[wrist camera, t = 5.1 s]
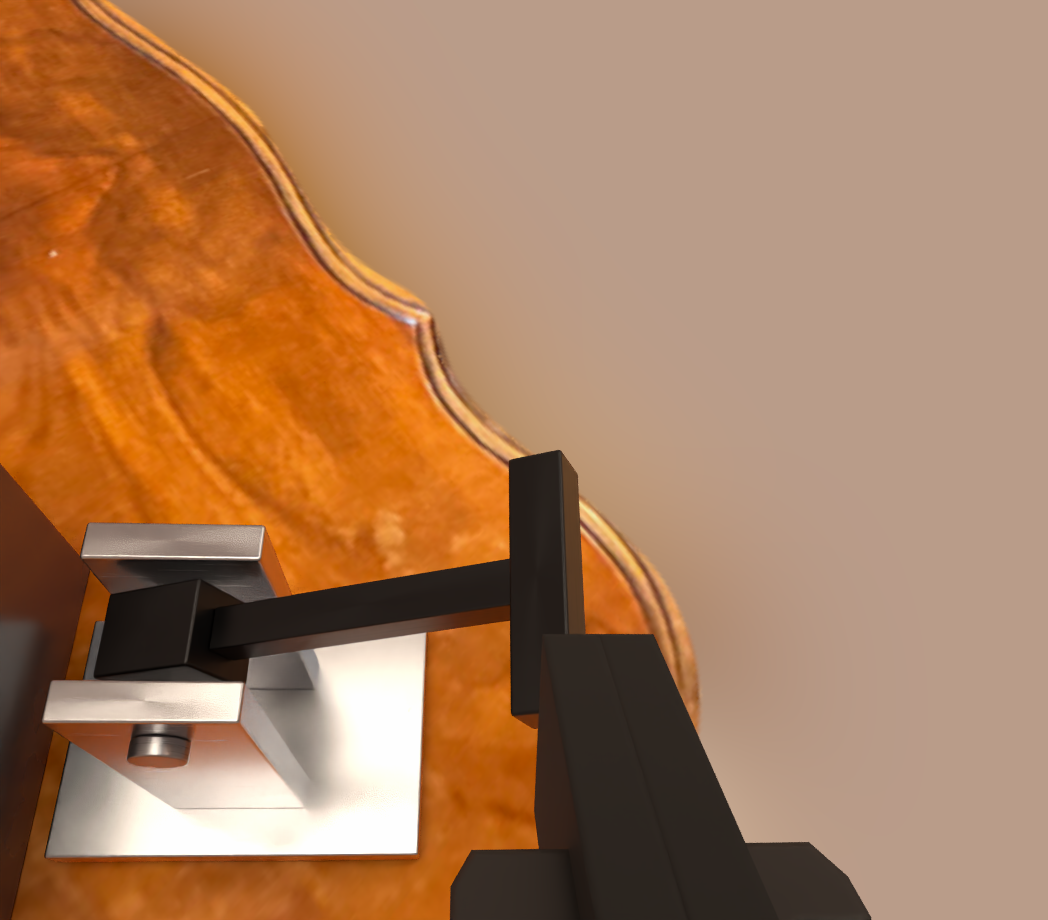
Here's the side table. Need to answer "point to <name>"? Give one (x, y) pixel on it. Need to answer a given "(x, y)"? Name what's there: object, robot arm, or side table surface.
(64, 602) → the toaster
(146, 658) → the lever
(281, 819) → the lever bracket
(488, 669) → the side table surface
